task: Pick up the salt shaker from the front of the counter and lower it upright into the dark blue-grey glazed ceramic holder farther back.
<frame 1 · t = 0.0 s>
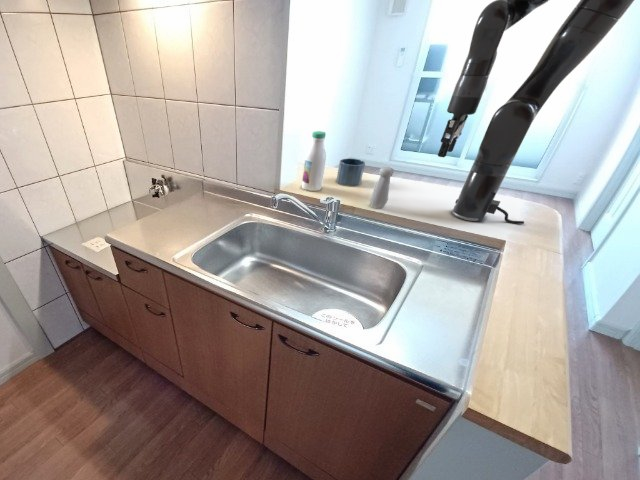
hand: (444, 154, 103), 17 cm above the worktop, tool pointing down, fingers open, 8 cm apart
milk bottle: (311, 188, 128), on the worktop
holder: (348, 182, 133), on the worktop
salt shaker: (376, 206, 113), on the worktop
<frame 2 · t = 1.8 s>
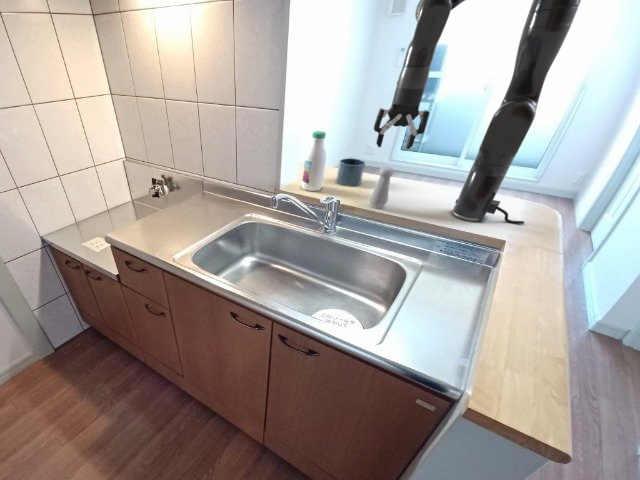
hand: (393, 147, 101), 19 cm above the worktop, tool pointing down, fingers open, 8 cm apart
nothing on the worktop moved.
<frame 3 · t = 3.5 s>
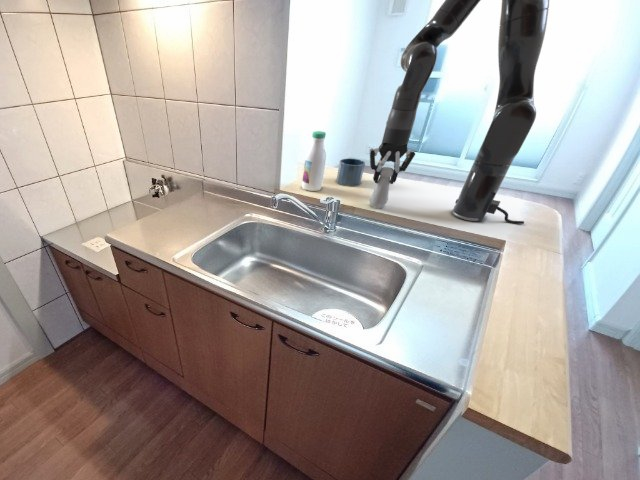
hand: (383, 182, 108), 8 cm above the worktop, tool pointing down, fingers closed on salt shaker, 4 cm apart
salt shaker: (376, 206, 113), on the worktop, touching gripper
everything else where it was.
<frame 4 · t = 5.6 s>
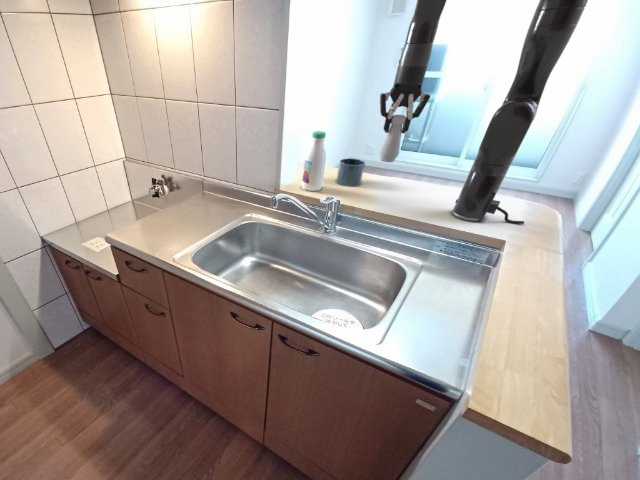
hand: (394, 132, 100), 23 cm above the worktop, tool pointing down, fingers closed on salt shaker, 4 cm apart
salt shaker: (387, 161, 105), point 15 cm above the worktop, touching gripper
everything else where it was.
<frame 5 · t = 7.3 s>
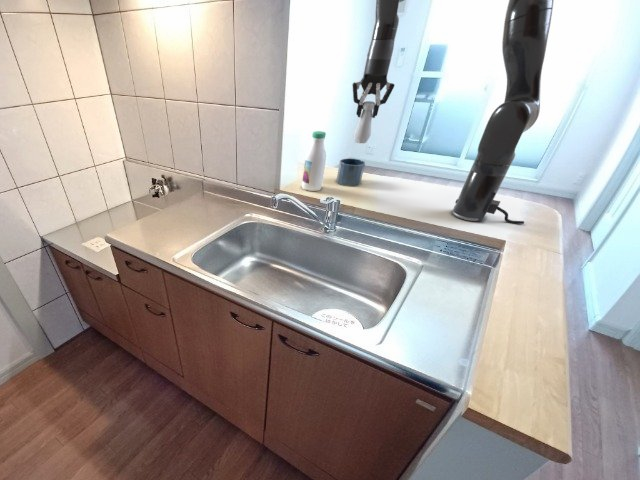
hand: (366, 116, 115), 24 cm above the worktop, tool pointing down, fingers closed on salt shaker, 4 cm apart
salt shaker: (360, 142, 120), point 16 cm above the worktop, touching gripper
everything else where it was.
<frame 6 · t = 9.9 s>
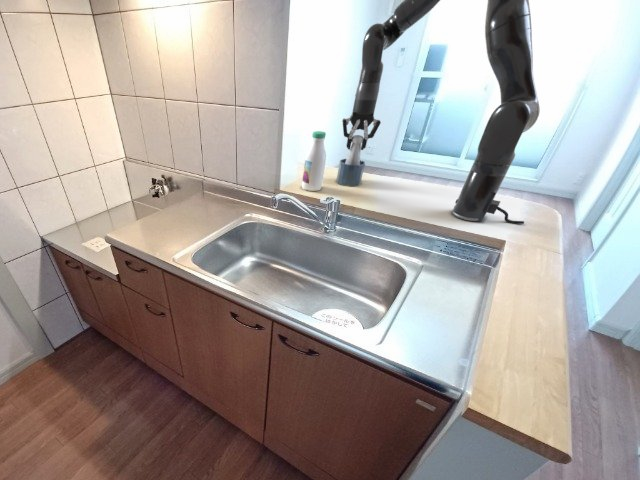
hand: (355, 149, 125), 13 cm above the worktop, tool pointing down, fingers closed on salt shaker, 4 cm apart
salt shaker: (350, 171, 130), point 4 cm above the worktop, touching gripper
everything else where it was.
when the fingers open (9 cm above the worktop, at t = 11.4 s): salt shaker stays where it is, resting on holder.
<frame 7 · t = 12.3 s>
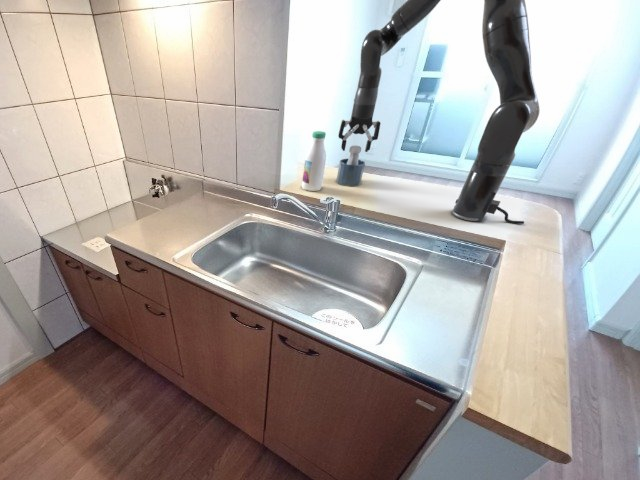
hand: (354, 150, 125), 12 cm above the worktop, tool pointing down, fingers open, 8 cm apart
salt shaker: (348, 180, 132), point 1 cm above the worktop, touching holder
everything else where it was.
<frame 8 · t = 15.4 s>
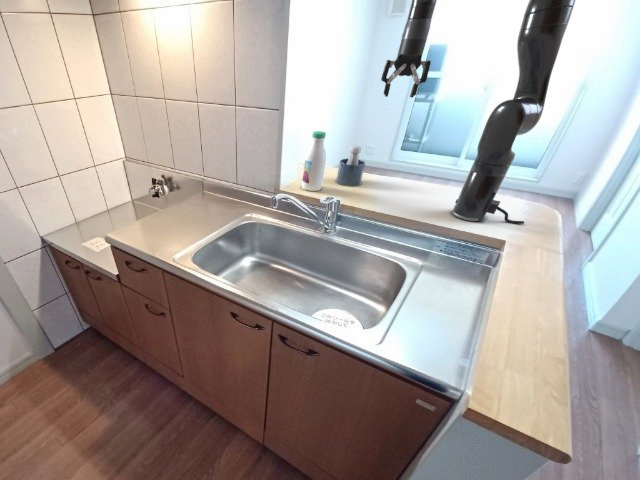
hand: (398, 96, 114), 30 cm above the worktop, tool pointing down, fingers open, 8 cm apart
nothing on the worktop moved.
at the end: salt shaker 0.1 cm off-centre in the holder, point 0.6 cm above the holder's base; salt shaker tilted 0°; the gripper is holding nothing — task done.
